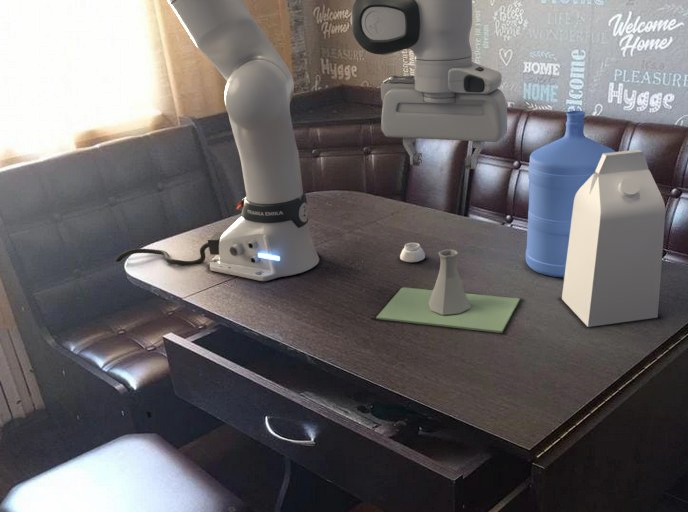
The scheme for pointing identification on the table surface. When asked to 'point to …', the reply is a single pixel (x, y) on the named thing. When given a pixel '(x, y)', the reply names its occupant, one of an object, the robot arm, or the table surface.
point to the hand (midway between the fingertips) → (443, 166)
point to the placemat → (481, 315)
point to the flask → (448, 287)
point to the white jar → (412, 253)
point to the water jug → (557, 194)
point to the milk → (616, 243)
